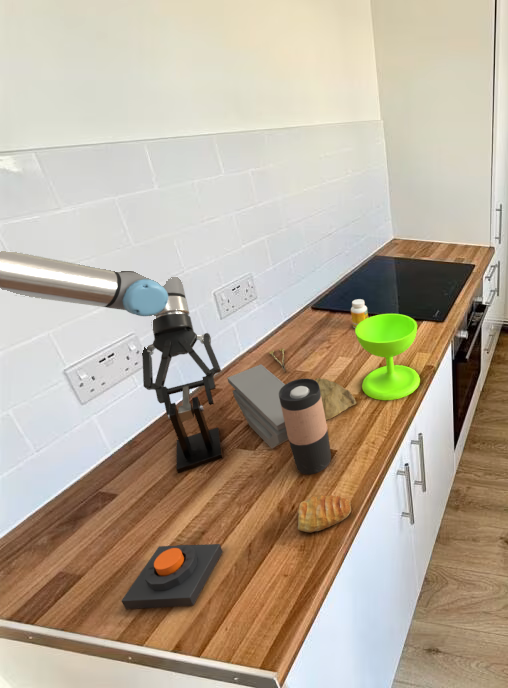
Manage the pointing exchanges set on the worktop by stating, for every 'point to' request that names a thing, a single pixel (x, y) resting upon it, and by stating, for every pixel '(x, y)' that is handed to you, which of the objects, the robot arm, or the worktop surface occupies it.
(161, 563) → the button
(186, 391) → the switch lever
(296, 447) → the travel mug
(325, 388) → the rock
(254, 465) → the worktop surface
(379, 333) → the wineglass
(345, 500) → the pastry
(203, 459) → the switch bracket
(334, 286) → the worktop surface
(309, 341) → the worktop surface
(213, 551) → the button block
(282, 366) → the tongs
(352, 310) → the supplement bottle
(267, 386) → the sharpening stone
